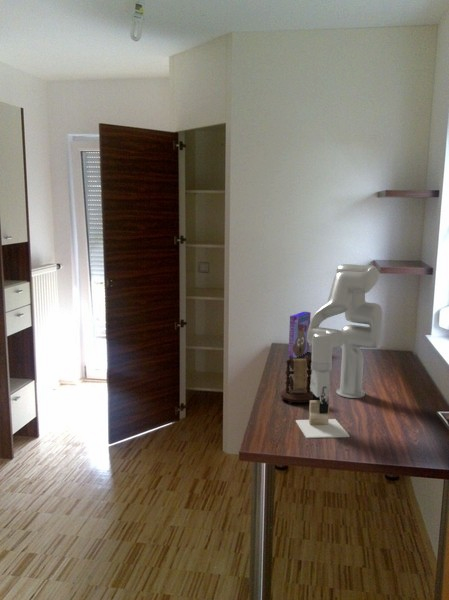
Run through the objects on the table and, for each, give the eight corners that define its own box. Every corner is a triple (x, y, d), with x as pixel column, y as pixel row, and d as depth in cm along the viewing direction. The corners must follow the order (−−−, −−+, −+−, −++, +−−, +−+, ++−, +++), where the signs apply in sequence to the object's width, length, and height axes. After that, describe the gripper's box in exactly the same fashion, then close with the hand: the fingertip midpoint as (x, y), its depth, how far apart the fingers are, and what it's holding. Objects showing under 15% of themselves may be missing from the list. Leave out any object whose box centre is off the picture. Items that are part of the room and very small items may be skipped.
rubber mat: (295, 421, 205) (295, 420, 205) (335, 420, 207) (335, 418, 207) (306, 438, 189) (306, 437, 189) (349, 437, 191) (349, 435, 191)
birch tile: (308, 422, 203) (309, 400, 201) (326, 422, 203) (327, 399, 202) (310, 425, 200) (311, 402, 199) (328, 424, 201) (329, 402, 199)
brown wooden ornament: (285, 406, 221) (287, 360, 218) (276, 394, 235) (278, 351, 232) (319, 405, 223) (321, 359, 220) (308, 393, 238) (310, 350, 235)
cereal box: (296, 358, 297) (297, 316, 293) (288, 357, 299) (290, 315, 296) (308, 352, 311) (310, 312, 307) (301, 350, 314) (303, 311, 310)
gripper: (305, 359, 207) (304, 400, 210) (318, 372, 190) (316, 417, 193) (324, 358, 207) (322, 399, 210) (338, 372, 190) (336, 416, 194)
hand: (319, 408), depth 202 cm, fingers open, 9 cm apart
